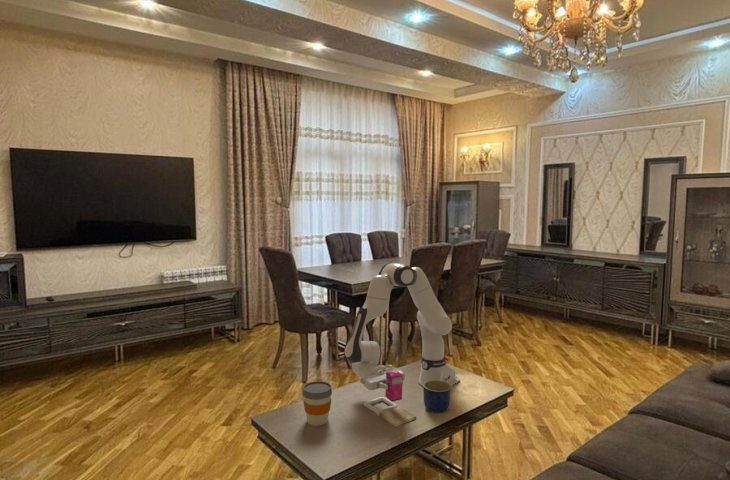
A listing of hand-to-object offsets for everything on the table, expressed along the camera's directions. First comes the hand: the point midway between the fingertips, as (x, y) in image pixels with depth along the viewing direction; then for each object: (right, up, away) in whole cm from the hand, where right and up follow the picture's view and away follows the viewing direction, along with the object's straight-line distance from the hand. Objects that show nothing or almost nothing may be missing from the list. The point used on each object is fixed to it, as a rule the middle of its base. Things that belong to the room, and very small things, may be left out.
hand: (395, 385), depth 195 cm
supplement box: (-1, -6, +1) cm, 6 cm away
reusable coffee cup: (-34, -14, -3) cm, 37 cm away
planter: (+20, -14, +8) cm, 25 cm away
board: (+1, -14, 0) cm, 14 cm away
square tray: (-6, -13, +10) cm, 17 cm away
